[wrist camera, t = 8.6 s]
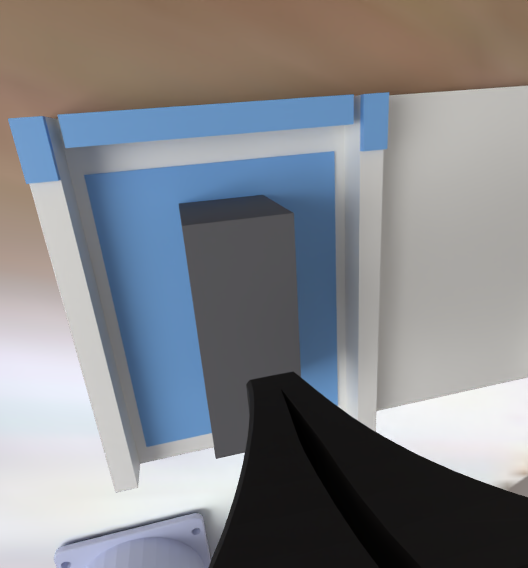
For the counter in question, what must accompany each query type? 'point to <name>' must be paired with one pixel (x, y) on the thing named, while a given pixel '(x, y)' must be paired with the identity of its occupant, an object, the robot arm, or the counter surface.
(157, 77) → the counter surface
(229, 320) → the dark gray rectangular block
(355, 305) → the tray
